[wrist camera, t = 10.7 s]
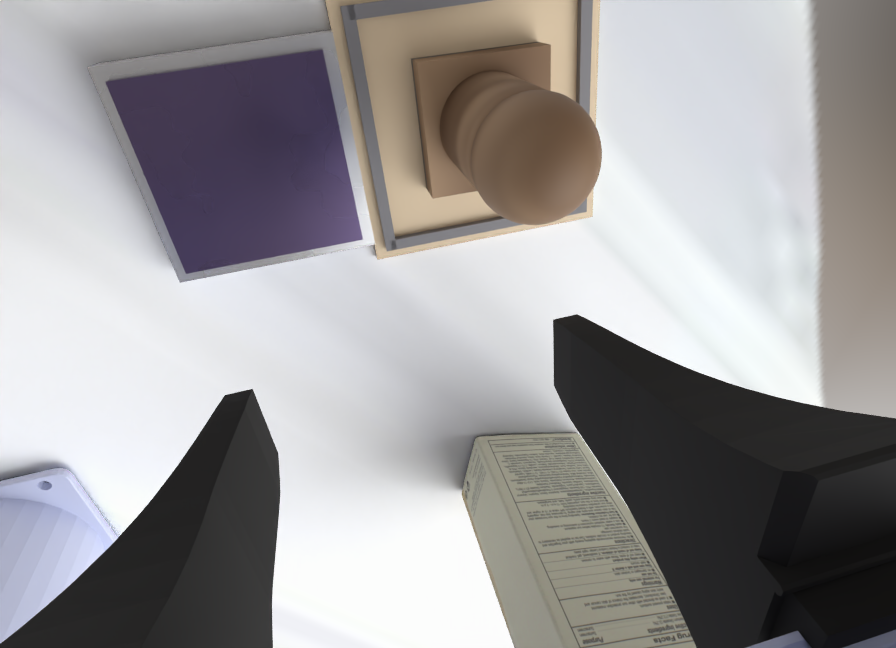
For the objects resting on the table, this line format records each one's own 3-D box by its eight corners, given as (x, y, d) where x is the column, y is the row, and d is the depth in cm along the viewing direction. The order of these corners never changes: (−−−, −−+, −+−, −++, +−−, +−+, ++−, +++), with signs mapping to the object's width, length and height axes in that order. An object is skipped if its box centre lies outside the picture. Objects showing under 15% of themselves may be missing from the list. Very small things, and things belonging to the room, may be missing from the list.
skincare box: (459, 493, 30) (539, 751, 20) (474, 430, 28) (573, 685, 18) (563, 487, 32) (685, 722, 22) (585, 428, 29) (733, 658, 19)
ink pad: (185, 270, 20) (178, 286, 19) (98, 63, 16) (83, 68, 15) (372, 234, 21) (376, 247, 20) (331, 29, 17) (333, 32, 16)
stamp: (426, 188, 20) (479, 274, 14) (410, 58, 18) (466, 95, 12) (538, 169, 21) (634, 244, 15) (537, 41, 19) (652, 68, 12)
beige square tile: (377, 257, 22) (378, 262, 21) (323, -7, 17) (324, -7, 16) (590, 215, 23) (595, 219, 22) (598, -45, 18) (605, -45, 17)
